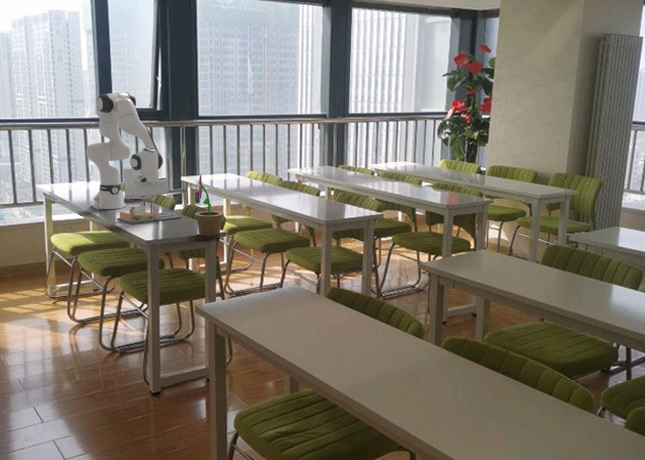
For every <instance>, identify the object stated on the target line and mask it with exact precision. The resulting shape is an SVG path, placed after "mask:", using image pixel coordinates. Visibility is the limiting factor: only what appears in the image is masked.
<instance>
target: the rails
mask: <svg viewBox="0 0 645 460" xmlns="http://www.w3.org/2000/svg"><path fill="white" fill-rule="evenodd" d="M169 213H170V212H169V211H165V212H156V215H159V216H156V218H160V217H168V216H175V215H176V213H170V214H169ZM163 214H167V215H163ZM152 218H154V216H153V217H152ZM142 219H150V218H149V217H144V218H139V220H142ZM134 220H136V219H133V221H134Z"/></svg>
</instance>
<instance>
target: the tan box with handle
mask: <svg viewBox="0 0 645 460" xmlns="http://www.w3.org/2000/svg"><path fill="white" fill-rule="evenodd" d="M141 201H142V203H143V206H141V204H140V205H129V209H128V210H129V212H128V213H130V214H132V216H133V218H135V219H136V220H139V218H144V217H149V218H152V217H153V216H154V211H153V204H154V203H153V201H152V200H149V199H145V198H143V199H142V200H141ZM148 202H149V203H148ZM146 203H148V204H150V205H149V206H150V208H149V209H150V211H149V212H148V211H146Z"/></svg>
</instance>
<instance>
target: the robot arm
mask: <svg viewBox="0 0 645 460" xmlns="http://www.w3.org/2000/svg"><path fill="white" fill-rule="evenodd" d="M136 99H137V98H136V97H135V96H134V94H133V93H131V92H111V93H102V94H100V95H98V97H97V99H96V105H97V107H96V108H97V109H98V110H99V127H98V129H99V130H98V131H99V133H100V135H101V136H103V137H105V138H107V139H108V140H109V141H108V142H94V143H91V144H88V146H87V147H86V154H85V155H86V157H87V158H88V160H90V161H91V162H92V163H93V164H94V165H95V166H96V167H97V169H98V171H99V176H100V177H99V178H100V184H99V191H98V192H97V194H96V195H95V196H94V197H93V201H94V202H93V203H91V204H90V205H91V207H92V208H94V209H96V210H117V209H123V208H124V207H126V206H127V204H126V203H125V196H124V193H123V191H122V185H121V178H120V171H119V169H118V168H116V167H114V166H112V165H110V162H112V161H113V162H116V161H117V162H118V161H124V160H129V158H130V160H129V163H130V164H129V165H130V166H131V167H130V168H133V169H134V170H137V171H142V175H140V176H138V177H135V178H134V182H135V183H134V184H133V195H134V196H146V197H147V199H149V200H152V201H153V203H152V204H155V199H156V197H157V195H165V194H166V195H167V194H168V193H169V191H170V190H169V185H168V178H167V177H165V176H159V174H160V173H159V172H160V171H159V170H160V169H161V168H162V166H163V163H164V158H163V156H162V155H161V153H160V151H159V149H158V148H157V145H156V143H155V140H154V139H153V137H152V134H151V133H150V130H149V129H148V127H147V126H146V125H144V124H143V123H142V121H141V120H140V117H139V113H138V111H137V109H136V106H137V101H136ZM120 129H121V130H122V131H123V132H124V133H126V134H128V135H131V136H135V137H137V138H139V139H140V140H141V141H142V142H143V145H144V146H145V147H144V148H142V150H141V151H140V152H136V153H134V154H132V155H131V153H132V150H131V146H130V145H129V143H127V142H125V140H124V139H123V138H122V136H121V132H120ZM130 156H131V157H130ZM150 195H151V196H152V198H151V199H150V198H149V197H150ZM147 203H148V204H150V203H149V202H147Z"/></svg>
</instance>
